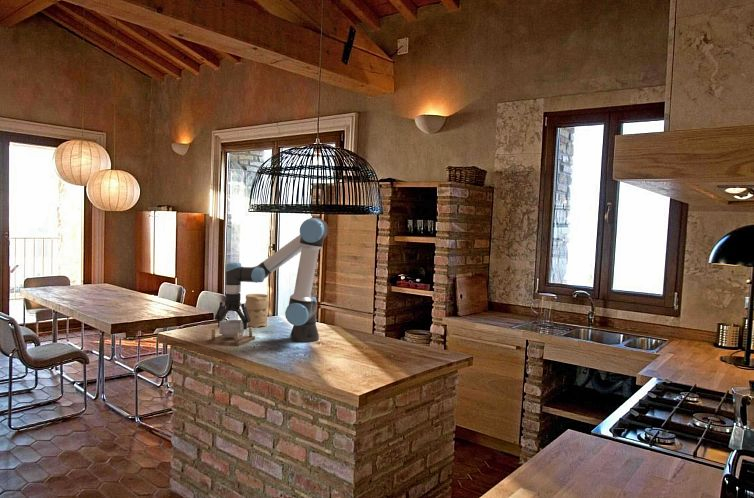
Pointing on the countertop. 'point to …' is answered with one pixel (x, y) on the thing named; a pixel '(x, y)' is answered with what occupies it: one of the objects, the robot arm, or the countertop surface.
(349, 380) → the countertop surface
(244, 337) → the rack
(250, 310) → the container
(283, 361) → the countertop surface
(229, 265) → the robot arm
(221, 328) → the teacup
